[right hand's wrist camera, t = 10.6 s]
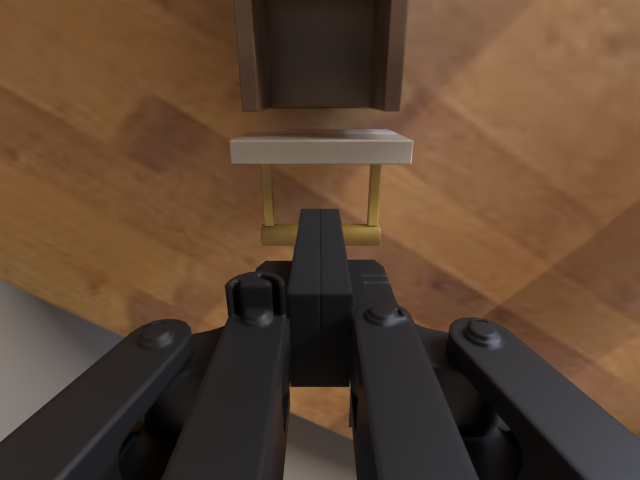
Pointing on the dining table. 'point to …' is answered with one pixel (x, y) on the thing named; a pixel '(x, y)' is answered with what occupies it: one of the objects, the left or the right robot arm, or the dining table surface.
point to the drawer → (321, 91)
